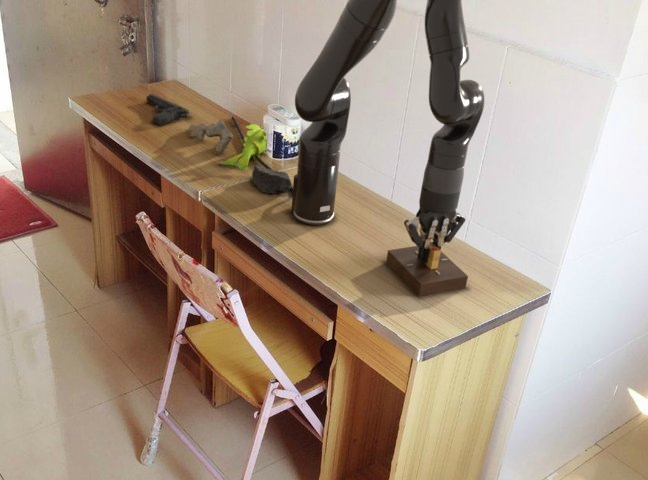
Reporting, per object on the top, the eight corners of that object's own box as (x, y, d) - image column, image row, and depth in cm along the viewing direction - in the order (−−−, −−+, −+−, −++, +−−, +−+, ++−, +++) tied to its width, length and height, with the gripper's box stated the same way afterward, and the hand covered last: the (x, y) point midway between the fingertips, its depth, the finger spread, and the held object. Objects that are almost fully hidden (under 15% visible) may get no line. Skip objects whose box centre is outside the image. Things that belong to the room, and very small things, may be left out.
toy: (280, 145, 215) (284, 124, 209) (242, 187, 205) (245, 166, 198) (255, 132, 217) (258, 111, 211) (217, 173, 206) (219, 152, 200)
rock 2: (250, 180, 199) (246, 187, 190) (256, 158, 198) (253, 164, 188) (289, 192, 200) (287, 200, 190) (296, 171, 198) (294, 177, 188)
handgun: (123, 109, 237) (155, 100, 243) (160, 127, 225) (193, 117, 232) (122, 100, 235) (154, 91, 242) (160, 118, 223) (193, 108, 230)
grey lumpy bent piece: (182, 131, 222) (182, 107, 218) (198, 128, 225) (198, 104, 221) (219, 156, 209) (220, 131, 205) (235, 153, 211) (236, 128, 207)
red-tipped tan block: (417, 256, 163) (420, 238, 160) (423, 255, 163) (427, 237, 161) (430, 269, 158) (434, 250, 156) (437, 268, 159) (441, 249, 156)
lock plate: (385, 262, 166) (387, 249, 164) (430, 255, 170) (432, 242, 168) (418, 296, 155) (421, 283, 154) (465, 288, 159) (468, 275, 157)
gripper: (461, 172, 156) (446, 247, 166) (401, 179, 152) (389, 256, 161) (482, 188, 150) (465, 265, 160) (421, 196, 146) (407, 274, 155)
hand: (427, 260), depth 161 cm, fingers closed on red-tipped tan block
